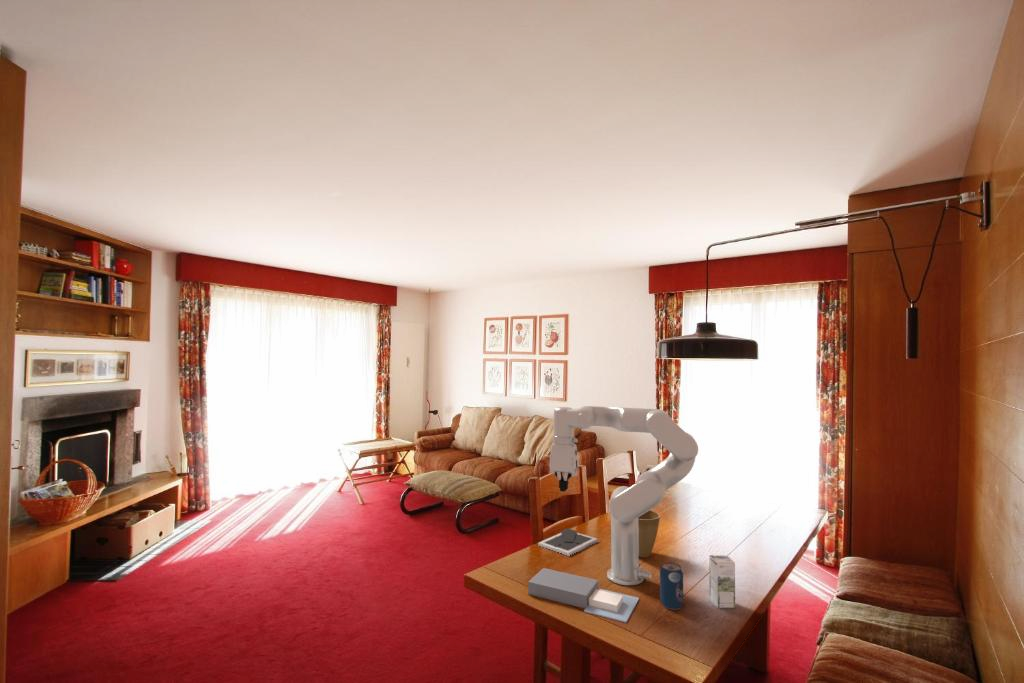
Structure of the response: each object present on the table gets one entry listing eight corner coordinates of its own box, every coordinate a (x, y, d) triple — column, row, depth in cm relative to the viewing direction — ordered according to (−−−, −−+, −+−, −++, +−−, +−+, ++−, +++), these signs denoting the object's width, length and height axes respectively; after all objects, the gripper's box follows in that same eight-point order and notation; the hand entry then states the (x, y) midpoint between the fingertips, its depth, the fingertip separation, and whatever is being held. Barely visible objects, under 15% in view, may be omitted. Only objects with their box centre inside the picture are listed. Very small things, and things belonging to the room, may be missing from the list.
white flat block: (623, 602, 150) (623, 595, 150) (617, 612, 144) (617, 605, 144) (595, 595, 154) (595, 589, 155) (588, 605, 148) (588, 598, 148)
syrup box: (726, 599, 153) (725, 553, 153) (736, 609, 147) (735, 561, 147) (709, 600, 152) (708, 554, 153) (718, 609, 146) (717, 561, 147)
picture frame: (567, 534, 213) (538, 547, 198) (567, 528, 213) (538, 540, 198) (597, 543, 202) (569, 558, 187) (597, 536, 202) (569, 550, 187)
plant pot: (657, 564, 179) (657, 521, 180) (618, 557, 186) (617, 516, 186) (662, 550, 193) (662, 510, 194) (625, 544, 199) (625, 506, 200)
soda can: (683, 612, 145) (682, 572, 145) (659, 608, 147) (658, 568, 148) (683, 602, 151) (683, 563, 152) (661, 598, 154) (660, 560, 154)
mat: (639, 599, 153) (639, 597, 153) (626, 622, 139) (626, 621, 139) (600, 590, 159) (600, 588, 159) (583, 611, 145) (583, 610, 145)
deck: (598, 592, 157) (598, 580, 158) (586, 608, 147) (586, 595, 147) (543, 579, 167) (543, 567, 167) (528, 594, 156) (528, 581, 156)
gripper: (586, 441, 176) (586, 490, 175) (548, 437, 183) (548, 485, 182) (579, 444, 170) (579, 495, 169) (541, 440, 176) (540, 490, 175)
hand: (563, 490), depth 175 cm, fingers closed
